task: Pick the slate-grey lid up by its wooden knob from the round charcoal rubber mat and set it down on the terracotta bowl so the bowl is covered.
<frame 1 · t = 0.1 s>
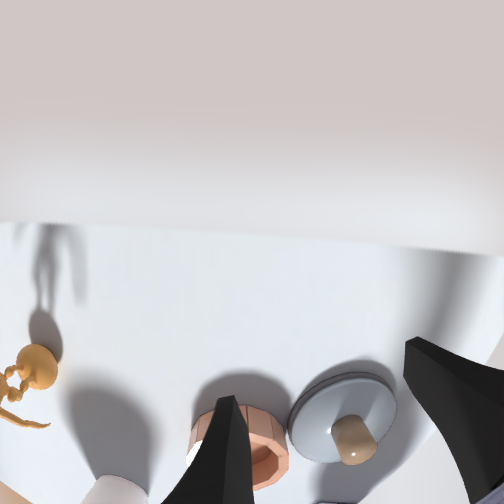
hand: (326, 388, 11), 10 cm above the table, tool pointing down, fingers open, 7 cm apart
bowl: (237, 439, 23), on the table
foam cup: (123, 489, 24), on the table
lid: (344, 421, 22), point 1 cm above the table, touching mat
mat: (342, 418, 23), on the table
figurine: (51, 349, 21), on the table
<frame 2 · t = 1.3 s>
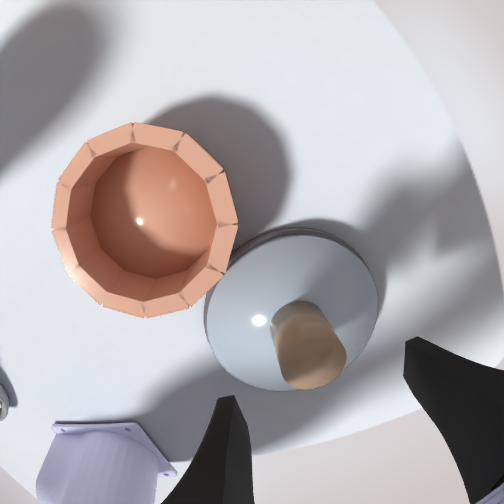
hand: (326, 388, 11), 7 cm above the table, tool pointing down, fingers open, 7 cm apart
bowl: (154, 211, 15), on the table
lid: (294, 318, 16), point 1 cm above the table, touching mat
mat: (292, 313, 17), on the table
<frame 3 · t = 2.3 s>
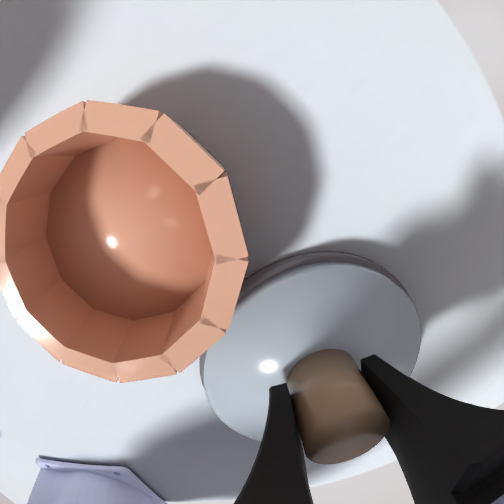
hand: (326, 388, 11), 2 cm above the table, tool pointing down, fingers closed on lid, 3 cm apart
bowl: (129, 229, 10), on the table
lid: (317, 366, 12), point 1 cm above the table, touching gripper, mat
mat: (313, 358, 13), on the table
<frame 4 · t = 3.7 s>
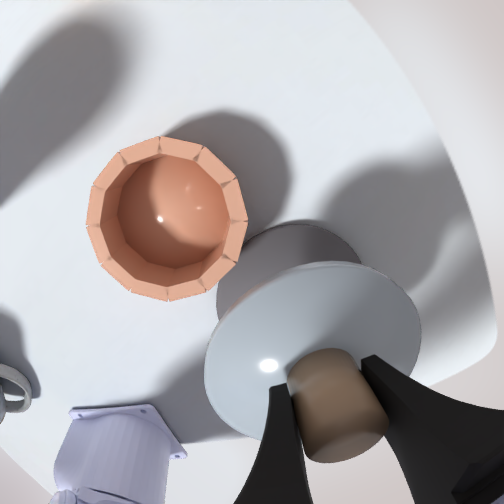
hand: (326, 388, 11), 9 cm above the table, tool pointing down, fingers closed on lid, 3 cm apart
bowl: (173, 210, 17), on the table
lid: (317, 365, 12), point 8 cm above the table, touching gripper
mat: (293, 299, 20), on the table
when the fingers open (6 cm above the table, at t = 5.1 s): lid stays where it is, resting on bowl.
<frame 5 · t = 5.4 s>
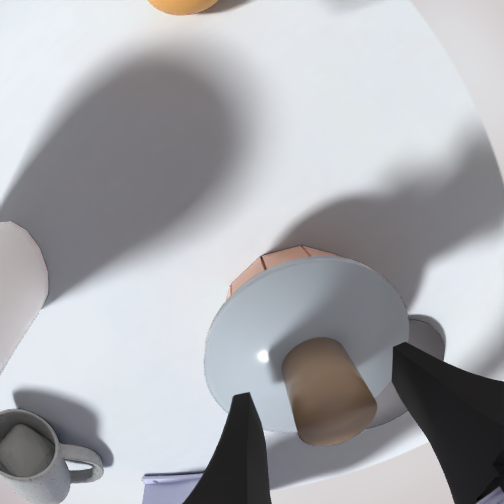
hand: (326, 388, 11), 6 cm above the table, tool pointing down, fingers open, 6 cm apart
bowl: (295, 317, 16), on the table
foam cup: (13, 269, 14), on the table
lid: (310, 354, 13), point 3 cm above the table, touching bowl
mat: (385, 378, 19), on the table
ceramic mug: (54, 438, 19), on the table
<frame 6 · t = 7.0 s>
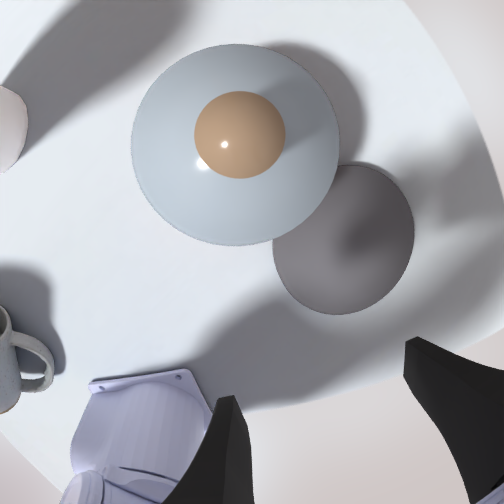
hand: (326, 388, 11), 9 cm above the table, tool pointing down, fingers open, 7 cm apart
foam cup: (1, 133, 15), on the table
lid: (235, 142, 13), point 3 cm above the table, touching bowl
mat: (347, 242, 19), on the table
ceramic mug: (12, 339, 19), on the table
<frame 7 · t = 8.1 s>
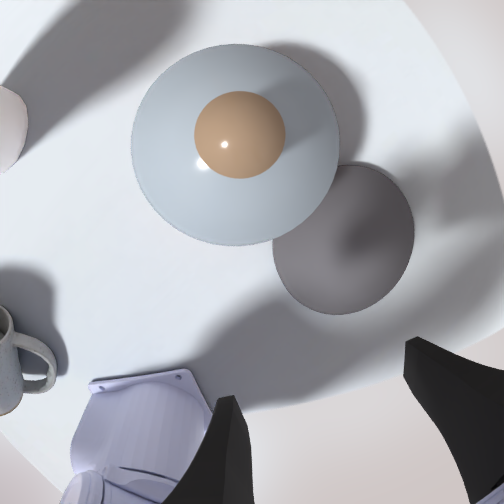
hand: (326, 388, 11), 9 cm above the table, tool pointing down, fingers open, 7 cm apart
foam cup: (0, 133, 15), on the table
lid: (235, 142, 13), point 3 cm above the table, touching bowl
mat: (347, 242, 19), on the table
ceramic mug: (13, 340, 20), on the table
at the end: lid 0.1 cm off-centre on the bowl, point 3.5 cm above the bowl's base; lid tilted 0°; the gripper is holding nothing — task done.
